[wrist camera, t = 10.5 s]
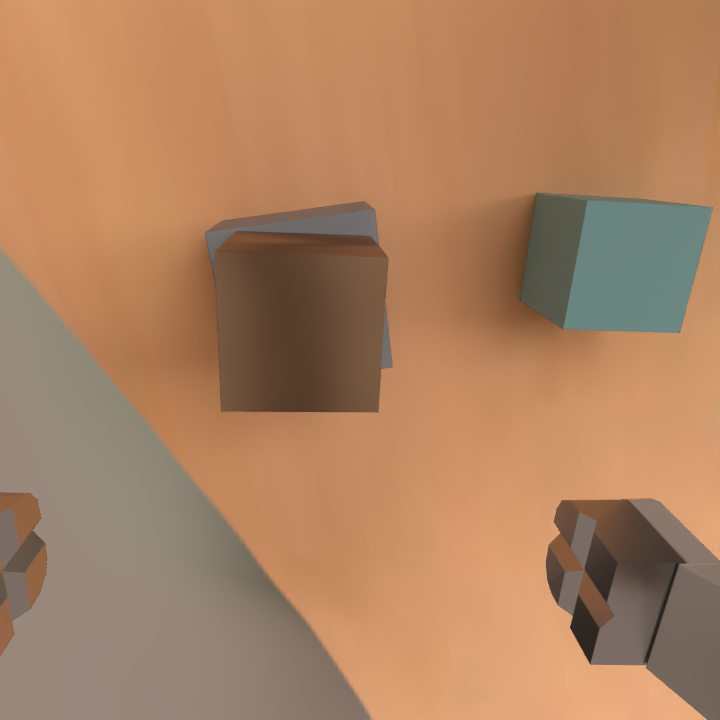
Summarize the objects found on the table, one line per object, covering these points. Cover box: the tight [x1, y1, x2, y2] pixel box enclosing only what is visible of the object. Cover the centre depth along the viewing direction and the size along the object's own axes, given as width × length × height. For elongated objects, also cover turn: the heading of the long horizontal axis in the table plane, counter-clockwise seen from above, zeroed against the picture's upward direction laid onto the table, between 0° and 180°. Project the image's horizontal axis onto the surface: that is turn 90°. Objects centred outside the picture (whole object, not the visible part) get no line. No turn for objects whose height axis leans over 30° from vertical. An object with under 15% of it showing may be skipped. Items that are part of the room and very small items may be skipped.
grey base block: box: [205, 201, 393, 369], centre depth 26 cm, size 7×7×5 cm
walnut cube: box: [214, 231, 388, 412], centre depth 21 cm, size 6×6×6 cm
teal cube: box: [520, 193, 713, 333], centre depth 26 cm, size 6×6×6 cm
